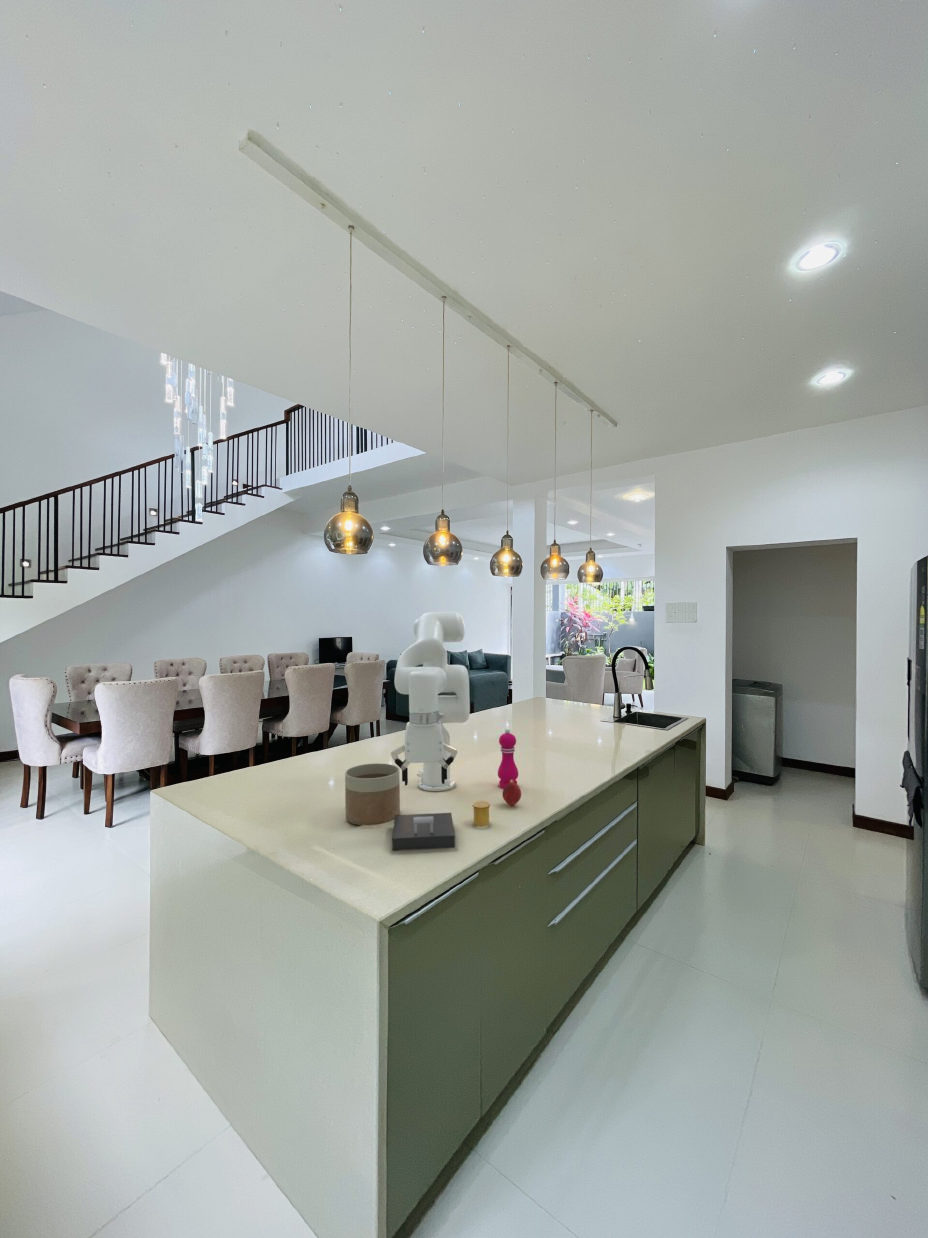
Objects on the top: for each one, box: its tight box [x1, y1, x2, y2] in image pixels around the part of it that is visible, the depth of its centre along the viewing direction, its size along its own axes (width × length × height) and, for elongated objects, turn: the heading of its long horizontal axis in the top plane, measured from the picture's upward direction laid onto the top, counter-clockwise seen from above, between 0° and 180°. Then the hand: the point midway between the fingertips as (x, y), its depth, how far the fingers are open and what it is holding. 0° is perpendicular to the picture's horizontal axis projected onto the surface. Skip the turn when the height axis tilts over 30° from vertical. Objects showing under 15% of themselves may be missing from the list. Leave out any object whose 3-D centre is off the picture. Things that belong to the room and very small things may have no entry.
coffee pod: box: [471, 801, 491, 827], centre depth 145 cm, size 5×5×6 cm
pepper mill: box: [497, 728, 519, 789], centre depth 179 cm, size 7×7×20 cm
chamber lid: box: [391, 812, 456, 843], centre depth 136 cm, size 16×16×5 cm
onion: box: [501, 780, 522, 807], centre depth 160 cm, size 6×6×8 cm
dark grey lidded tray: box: [391, 838, 456, 851], centre depth 136 cm, size 15×16×3 cm
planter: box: [344, 762, 401, 826], centre depth 152 cm, size 16×16×14 cm
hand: (424, 783), depth 135 cm, fingers open, 9 cm apart
